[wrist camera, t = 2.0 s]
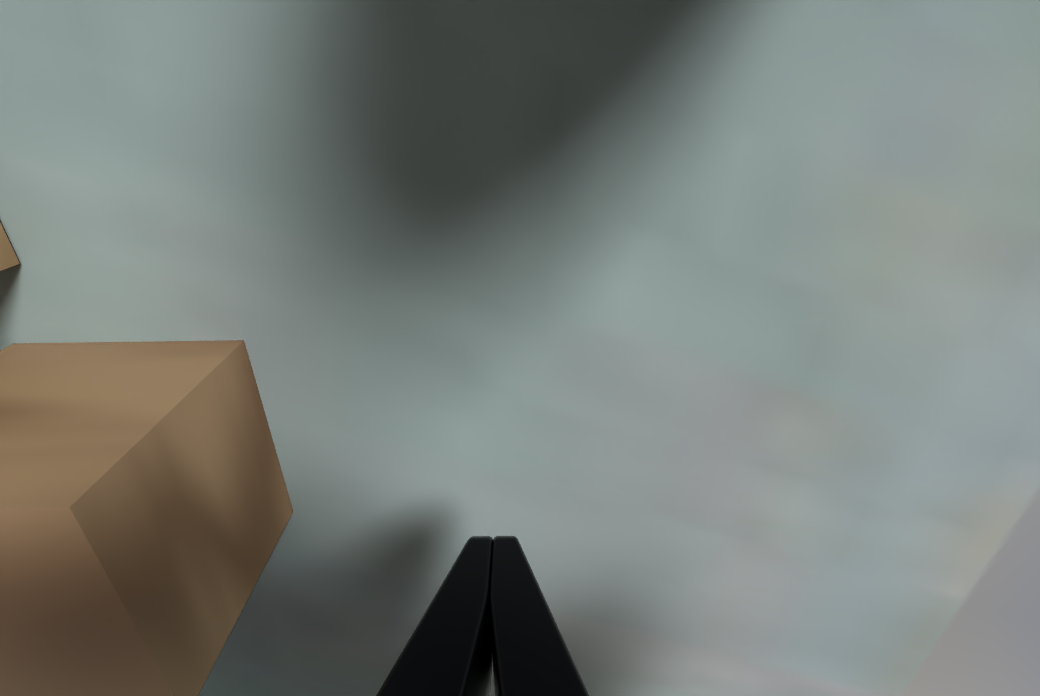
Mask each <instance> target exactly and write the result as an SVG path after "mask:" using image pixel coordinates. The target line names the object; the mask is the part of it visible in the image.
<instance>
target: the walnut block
mask: <svg viewBox="0 0 1040 696" xmlns="http://www.w3.org/2000/svg"><path fill="white" fill-rule="evenodd" d="M292 513H293V509H292V505H291V502H290V498H289V495H288V491H287V488H286V485H285V481H284V478H283V474H282V471H281V467H280V464H279V460H278V457H277V453H276V450H275V446H274V443H273V439H272V436H271V433H270V429H269V426H268V422H267V419H266V415H265V412H264V408H263V405H262V401H261V398H260V394H259V391H258V387H257V384H256V381H255V377H254V374H253V370H252V367H251V363H250V360H249V356H248V353H247V349H246V346H245V342H244V340H238V341H166V342H94V343H22V344H12V345H10V346H8V347H6V348H4V349H2V350H0V696H198V695H199V693H200V691H201V689H202V687H203V685H204V683H205V681H206V679H207V677H208V675H209V673H210V672H211V670H212V668H213V666H214V664H215V662H216V660H217V658H218V656H219V654H220V652H221V650H222V648H223V646H224V644H225V642H226V641H227V639H228V637H229V635H230V633H231V631H232V629H233V627H234V625H235V623H236V621H237V619H238V617H239V615H240V613H241V612H242V610H243V608H244V606H245V604H246V602H247V600H248V598H249V596H250V594H251V592H252V590H253V588H254V586H255V584H256V583H257V581H258V579H259V577H260V575H261V573H262V571H263V569H264V567H265V565H266V563H267V561H268V559H269V557H270V555H271V554H272V552H273V550H274V548H275V546H276V544H277V542H278V540H279V538H280V536H281V534H282V532H283V530H284V528H285V526H286V524H287V523H288V521H289V519H290V517H291V515H292Z"/></svg>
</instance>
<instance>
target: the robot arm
mask: <svg viewBox="0 0 1040 696" xmlns="http://www.w3.org/2000/svg"><path fill="white" fill-rule="evenodd" d="M492 664H493V671H494V686H495V696H589V695H588V692H587V690H586V688H585V686H584V684H583V681H582V679H581V677H580V675H579V673H578V670H577V668H576V666H575V664H574V662H573V659H572V657H571V655H570V653H569V651H568V648H567V646H566V644H565V642H564V640H563V637H562V635H561V633H560V631H559V629H558V627H557V624H556V622H555V620H554V618H553V616H552V613H551V611H550V609H549V607H548V605H547V602H546V600H545V598H544V596H543V594H542V591H541V589H540V587H539V585H538V583H537V580H536V578H535V576H534V574H533V572H532V569H531V567H530V565H529V563H528V561H527V559H526V556H525V554H524V552H523V550H522V548H521V545H520V543H519V541H518V539H517V538H516V537H515V536H496V537H495V538H494V539H492V537H490V536H474V537H471V538H469V540H468V541H467V543H466V544H465V546H464V548H463V549H462V551H461V553H460V554H459V556H458V558H457V560H456V561H455V563H454V565H453V566H452V568H451V570H450V571H449V573H448V575H447V577H446V578H445V580H444V582H443V583H442V585H441V587H440V588H439V590H438V592H437V593H436V595H435V597H434V599H433V600H432V602H431V604H430V605H429V607H428V609H427V610H426V612H425V614H424V616H423V617H422V619H421V621H420V622H419V624H418V626H417V627H416V629H415V631H414V633H413V634H412V636H411V638H410V639H409V641H408V643H407V644H406V646H405V648H404V649H403V651H402V653H401V655H400V656H399V658H398V660H397V661H396V663H395V665H394V666H393V668H392V670H391V672H390V673H389V675H388V677H387V678H386V680H385V682H384V683H383V685H382V687H381V689H380V690H379V692H378V694H377V695H376V696H489V693H490V685H491V676H492Z"/></svg>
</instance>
